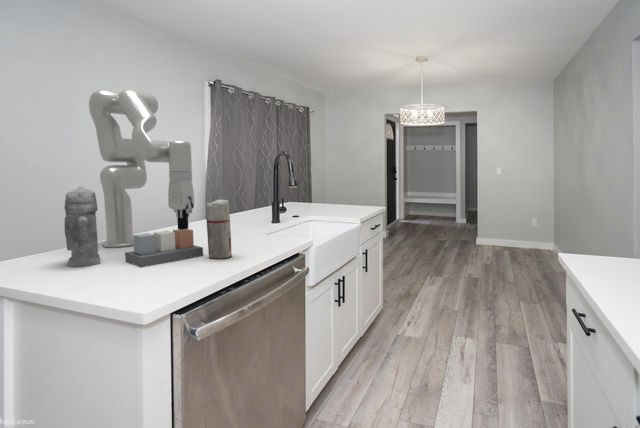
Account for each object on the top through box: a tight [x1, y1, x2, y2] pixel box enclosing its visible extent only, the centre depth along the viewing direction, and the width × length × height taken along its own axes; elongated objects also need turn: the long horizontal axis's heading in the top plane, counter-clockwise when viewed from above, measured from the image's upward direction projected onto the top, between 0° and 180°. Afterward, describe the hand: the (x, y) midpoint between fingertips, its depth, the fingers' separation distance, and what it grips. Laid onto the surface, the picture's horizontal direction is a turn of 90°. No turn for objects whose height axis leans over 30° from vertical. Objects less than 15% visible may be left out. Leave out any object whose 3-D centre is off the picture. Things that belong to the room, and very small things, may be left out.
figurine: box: [63, 186, 101, 267], centre depth 137 cm, size 10×14×25 cm
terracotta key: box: [172, 228, 194, 249], centre depth 149 cm, size 5×5×6 cm
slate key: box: [133, 232, 156, 255], centre depth 139 cm, size 5×5×6 cm
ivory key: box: [153, 230, 175, 252], centre depth 144 cm, size 5×5×6 cm
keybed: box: [124, 244, 204, 268], centre depth 145 cm, size 12×22×3 cm, turn 138°
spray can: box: [205, 199, 233, 260], centre depth 146 cm, size 8×8×20 cm
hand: (183, 228), depth 149 cm, fingers closed
